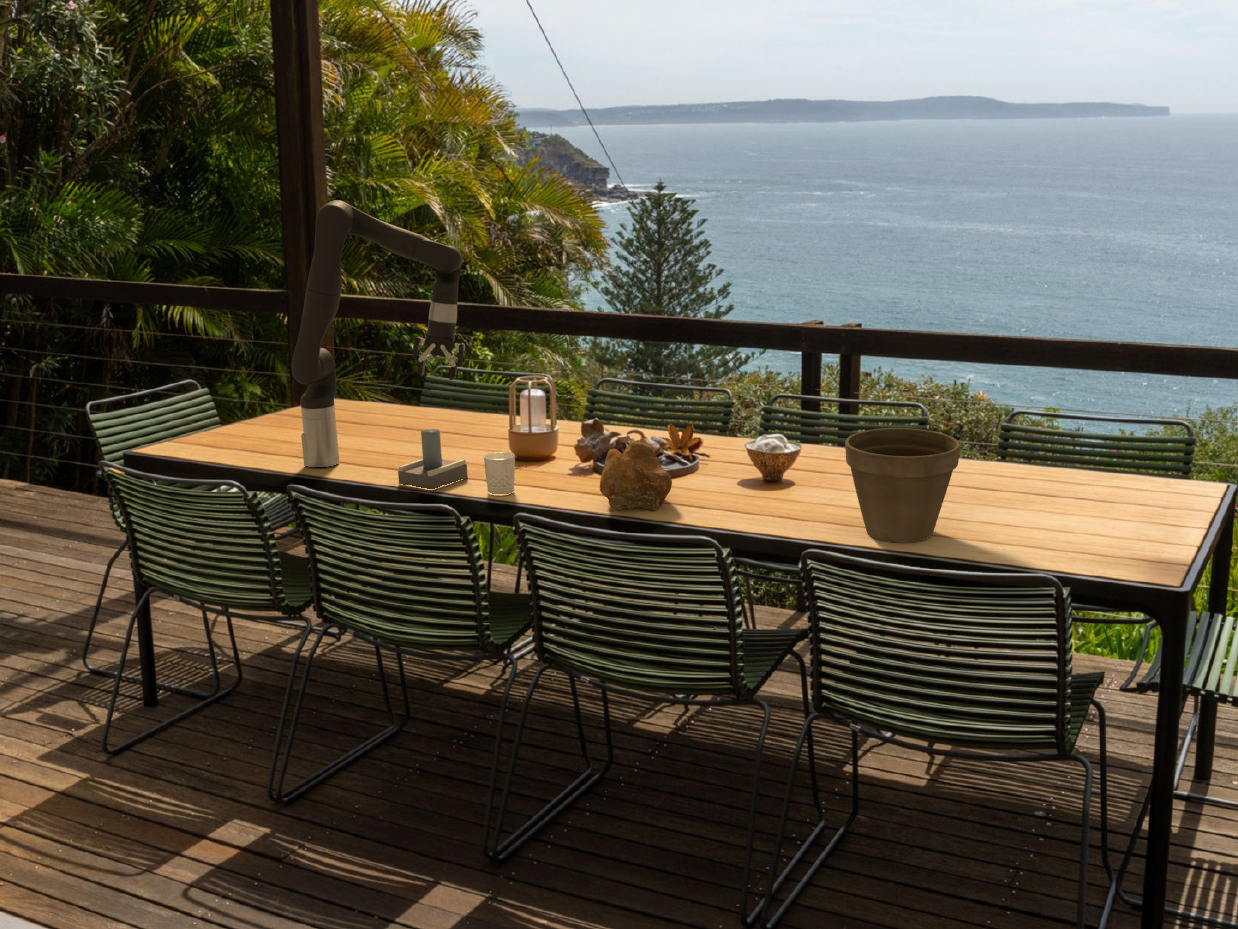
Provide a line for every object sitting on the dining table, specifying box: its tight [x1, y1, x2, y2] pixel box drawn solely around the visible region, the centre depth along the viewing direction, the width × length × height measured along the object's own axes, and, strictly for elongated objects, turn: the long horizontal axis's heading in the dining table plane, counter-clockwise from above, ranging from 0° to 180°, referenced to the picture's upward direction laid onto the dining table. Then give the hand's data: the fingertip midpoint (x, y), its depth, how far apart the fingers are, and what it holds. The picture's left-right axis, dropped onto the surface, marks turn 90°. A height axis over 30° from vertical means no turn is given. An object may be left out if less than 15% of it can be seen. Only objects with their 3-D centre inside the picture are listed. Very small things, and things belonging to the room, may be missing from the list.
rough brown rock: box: [599, 440, 673, 511], centre depth 295 cm, size 23×17×15 cm
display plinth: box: [397, 458, 468, 489], centre depth 321 cm, size 14×12×5 cm
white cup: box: [483, 451, 516, 494], centre depth 308 cm, size 8×8×10 cm
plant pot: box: [845, 427, 961, 544], centre depth 267 cm, size 25×25×22 cm
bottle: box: [420, 428, 443, 470], centre depth 319 cm, size 5×5×10 cm
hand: (436, 377), depth 330 cm, fingers open, 8 cm apart
